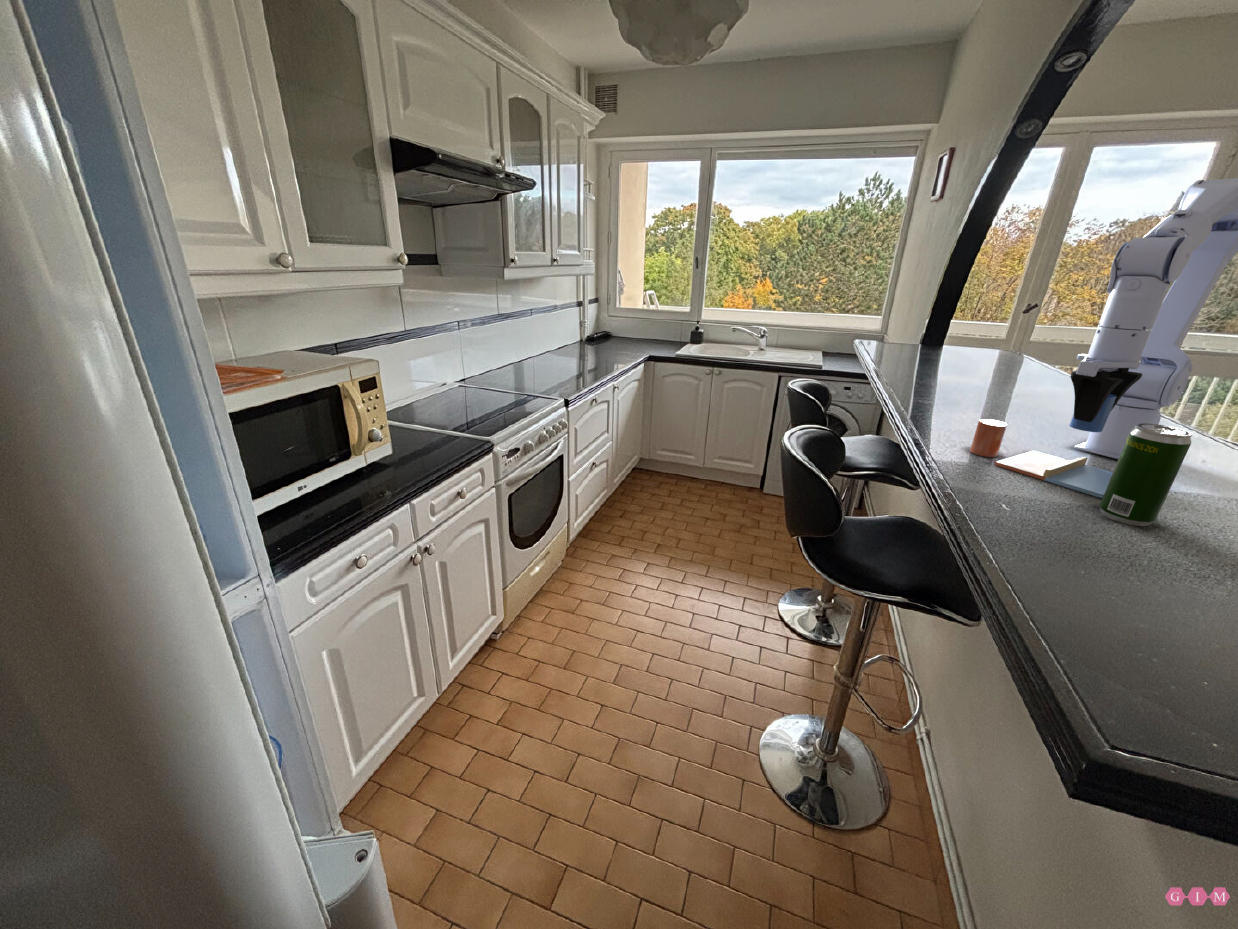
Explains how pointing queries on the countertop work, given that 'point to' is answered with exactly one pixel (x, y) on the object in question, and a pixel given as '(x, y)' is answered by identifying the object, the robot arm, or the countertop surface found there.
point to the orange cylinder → (988, 437)
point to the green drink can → (1144, 473)
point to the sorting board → (1060, 471)
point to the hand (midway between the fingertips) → (1089, 418)
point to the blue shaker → (1098, 421)
